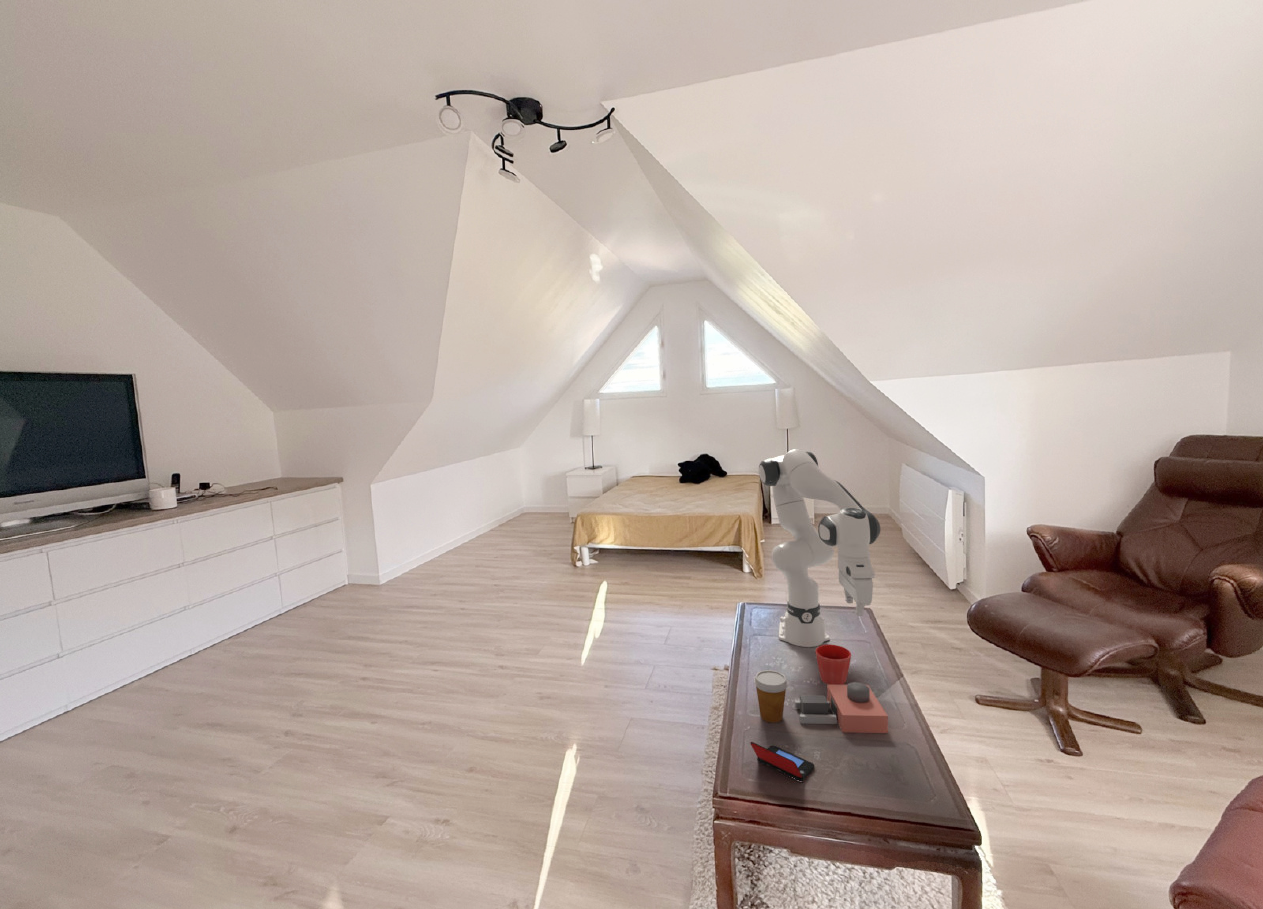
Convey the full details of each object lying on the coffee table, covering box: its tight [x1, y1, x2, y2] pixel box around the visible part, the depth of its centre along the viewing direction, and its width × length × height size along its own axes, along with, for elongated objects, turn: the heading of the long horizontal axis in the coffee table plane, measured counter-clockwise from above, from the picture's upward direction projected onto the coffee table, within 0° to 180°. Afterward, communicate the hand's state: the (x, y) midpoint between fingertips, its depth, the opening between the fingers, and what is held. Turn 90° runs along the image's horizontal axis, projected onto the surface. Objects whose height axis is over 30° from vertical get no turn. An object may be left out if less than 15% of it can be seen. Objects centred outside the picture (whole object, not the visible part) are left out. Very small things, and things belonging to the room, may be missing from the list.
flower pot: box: [815, 644, 852, 685], centre depth 174 cm, size 11×11×10 cm
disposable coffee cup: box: [753, 669, 789, 724], centre depth 156 cm, size 10×10×12 cm
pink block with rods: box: [794, 681, 889, 734], centre depth 155 cm, size 16×22×8 cm
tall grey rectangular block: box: [799, 694, 829, 715], centre depth 156 cm, size 4×7×5 cm, turn 84°
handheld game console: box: [749, 741, 815, 782], centre depth 134 cm, size 12×11×7 cm
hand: (854, 608), depth 160 cm, fingers open, 8 cm apart
